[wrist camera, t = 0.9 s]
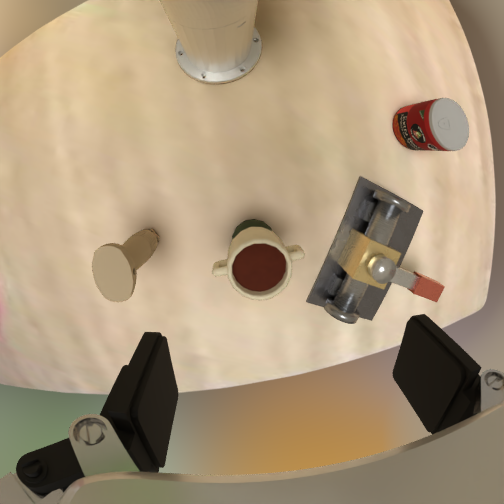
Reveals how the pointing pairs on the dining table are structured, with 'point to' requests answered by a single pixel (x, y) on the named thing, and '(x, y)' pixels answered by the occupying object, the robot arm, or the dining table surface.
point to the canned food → (432, 126)
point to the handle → (122, 264)
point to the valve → (364, 252)
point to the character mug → (258, 261)
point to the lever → (403, 278)
